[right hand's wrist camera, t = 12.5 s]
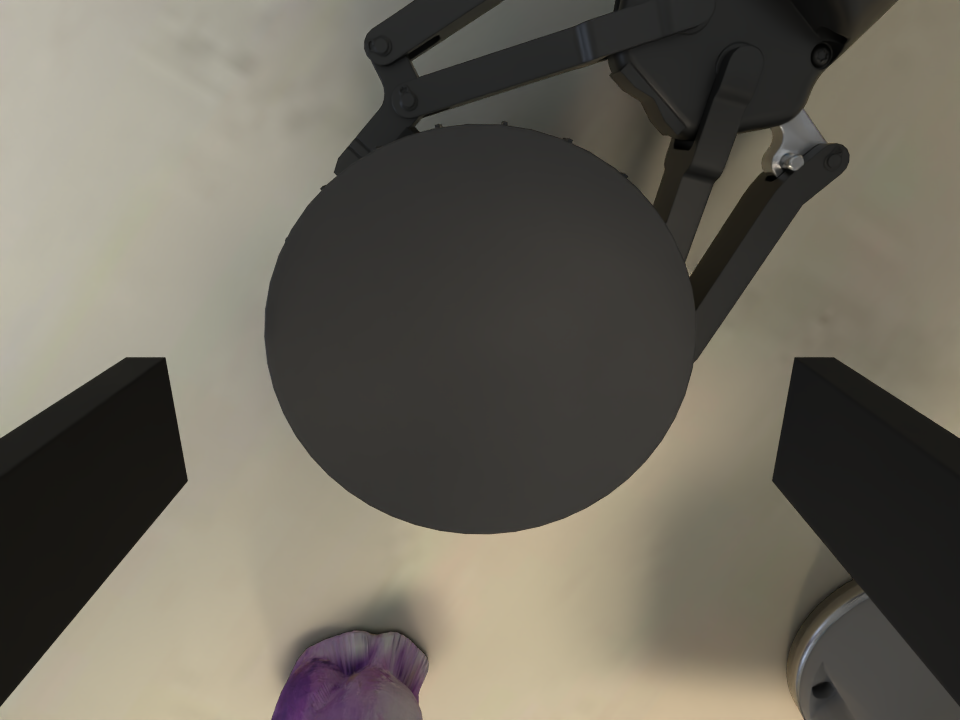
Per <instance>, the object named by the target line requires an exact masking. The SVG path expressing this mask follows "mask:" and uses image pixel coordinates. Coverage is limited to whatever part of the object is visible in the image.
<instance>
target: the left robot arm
mask: <svg viewBox="0 0 960 720" xmlns="http://www.w3.org/2000/svg"><path fill="white" fill-rule="evenodd" d="M503 1H504V0H414V1H413V2H411V3H410V4H408V5H407V6H405V7H404V8H402V9H401V10H399V11H398V12H397V13H395V14H394V15H392V16H391V17H389V18H388V19H386V20H385V21H383V22H382V23H380V24H379V25H377V26H376V27H374V28H373V29H371V31H370V32H369V33H368V34H367V35H366V38H365V41H364V49H365V52H366V55H367V56H368V58H369V59H370V60H371V62H372V64H373V66H374V68H375V70H376V72H377V74H378V76H379V78H380V80H381V82H382V84H383V87H384V93H385V94H384V101H383V104H382V106H381V107H380V109H379V110H378V112H377V113H376V114H375V115H374V116H373V117H372V119H371V120H370V121H369V122H368V123H367V125H366V126H365V127H364V128H363V129H362V131H361V132H360V133H359V134H358V135H357V137H356V138H355V139H354V140H353V141H352V143H351V144H350V145H349V146H348V147H347V148H346V150H345V151H344V152H343V153H342V154H341V156H340V157H339V158H338V161H337V164H336V167H335V170H334V173H335V174H336V175H337V176H338V175H339V174H340V173H341V172H343V171H344V170H345V169H346V168H347V167H349V166H350V165H351V164H353V163H354V162H356V161H358V160H359V159H361V158H363V157H364V156H366V155H368V154H369V153H371V152H373V150H372V148H373V147H375V146H381V145H382V146H384V145H387V144H389V143H391V142H394V141H396V140H399V139H401V138H403V137H406V136H409V135H412V134H416V133H420V132H419V131H418V130H417V129H416V128H415V125H416V124H417V123H418V122H419V121H420V120H421V118H424V117H427V116H430V115H434V114H437V113H440V112H443V111H446V110H449V109H452V108H455V107H459V106H462V105H465V104H468V103H471V102H474V101H477V100H481V99H484V98H487V97H490V96H493V95H496V94H499V93H502V92H506V91H509V90H512V89H515V88H518V87H521V86H524V85H527V84H531V83H534V82H537V81H540V80H543V79H546V78H549V77H552V76H556V75H559V74H562V73H565V72H568V71H571V70H575V69H579V68H582V67H586V66H589V65H592V64H595V63H598V62H601V61H604V60H607V59H608V64H609V67H610V70H611V72H612V73H611V74H610V75H609V76H610V77H611V78H612V79H613V80H614V81H615V82H616V83H617V85H618V86H619V87H620V88H621V89H622V90H623V91H624V92H626V93H628V94H629V95H631V96H633V97H634V98H636V99H637V100H639V101H640V102H641V103H642V105H643V108H644V110H645V112H646V114H647V116H648V118H649V120H650V122H651V123H652V124H653V125H654V126H655V127H656V128H657V129H658V131H659V132H660V133H661V134H662V135H668V136H670V137H672V139H671V142H670V145H669V148H668V151H667V154H666V158H665V163H664V168H665V170H664V174H663V177H662V180H661V183H660V186H659V189H658V192H657V195H656V198H655V201H654V204H653V207H654V208H655V209H656V210H657V211H658V213H659V214H660V216H661V218H662V219H663V221H664V222H666V223H667V225H668V229H669V230H670V232H671V233H672V235H673V237H674V239H675V241H676V244H677V246H678V248H679V250H680V252H681V255H682V257H683V259H684V261H686V258H687V256H688V253H689V250H690V247H691V244H692V242H693V239H694V236H695V233H696V231H697V228H698V225H699V222H700V220H701V217H702V214H703V211H704V208H705V206H706V203H707V200H708V197H709V195H710V192H711V189H712V187H713V184H714V183H715V181H716V180H717V179H718V178H719V177H720V176H721V174H722V172H723V170H724V168H725V165H726V162H727V160H728V157H729V154H730V151H731V149H732V146H733V143H734V140H735V138H736V135H737V134H740V133H745V132H751V131H756V130H761V129H766V128H770V129H771V131H772V136H773V137H772V143H771V145H770V147H769V148H768V150H767V151H766V152H765V154H764V155H763V158H762V163H761V164H762V169H763V172H762V173H761V174H760V175H759V176H758V177H757V178H756V179H755V180H754V181H753V183H752V184H751V185H750V186H749V187H748V189H747V190H746V192H745V193H744V194H743V196H742V197H741V199H740V200H739V202H738V204H737V205H736V207H735V208H734V210H733V211H732V213H731V214H730V216H729V217H728V219H727V220H726V222H725V224H724V225H723V227H722V228H721V230H720V231H719V233H718V234H717V236H716V237H715V239H714V241H713V242H712V244H711V245H710V247H709V248H708V250H707V251H706V253H705V254H704V256H703V258H702V259H701V261H700V262H699V264H698V265H697V267H696V268H695V270H694V271H693V273H692V275H691V276H690V278H689V279H690V282H691V286H692V290H693V297H694V304H695V311H696V347H695V354H694V361H693V363H694V362H695V361H696V360H697V359H698V357H699V356H700V354H701V353H702V351H703V350H704V348H705V347H706V346H707V344H708V343H709V341H710V340H711V338H712V337H713V335H714V334H715V332H716V331H717V329H718V328H719V327H720V325H721V324H722V322H723V321H724V319H725V318H726V316H727V315H728V313H729V312H730V310H731V309H732V307H733V306H734V305H735V303H736V302H737V300H738V299H739V297H740V296H741V294H742V293H743V291H744V290H745V288H746V287H747V285H748V284H749V283H750V281H751V280H752V278H753V277H754V275H755V274H756V272H757V271H758V269H759V268H760V266H761V265H762V264H763V262H764V261H765V259H766V258H767V256H768V255H769V253H770V252H771V250H772V249H773V247H774V246H775V244H776V243H777V242H778V240H779V239H780V237H781V236H782V234H783V233H784V231H785V230H786V228H787V227H788V225H789V224H790V222H791V221H792V220H793V218H794V217H795V215H796V214H797V212H798V211H799V209H800V208H801V206H802V205H803V204H804V203H806V202H807V201H808V200H809V199H811V198H812V197H813V196H814V195H816V194H817V193H818V192H819V191H820V190H822V189H823V188H824V187H825V186H827V185H828V184H829V183H830V182H832V181H833V180H834V179H835V178H837V177H838V176H839V175H840V174H842V172H843V171H844V170H845V169H846V168H847V166H848V163H849V152H848V150H847V148H846V147H844V146H843V145H841V144H837V143H827V142H826V141H825V139H824V138H823V136H822V135H821V133H820V132H819V131H818V129H817V128H816V126H815V125H814V123H813V122H812V120H811V119H810V117H809V116H808V114H807V113H806V112H805V110H804V109H803V108H804V106H805V104H806V103H807V100H808V98H809V95H810V92H811V90H812V88H813V86H814V84H815V83H816V81H817V79H818V78H819V76H820V75H821V74H822V73H823V71H824V70H825V69H826V68H827V67H829V66H830V65H831V64H832V63H833V62H834V61H835V60H836V59H837V58H839V57H840V56H841V55H842V54H843V53H844V52H845V51H846V50H847V49H848V48H849V47H850V46H851V45H852V44H853V43H854V42H855V41H856V40H858V39H859V38H860V37H861V36H862V35H863V34H864V33H865V32H866V31H867V30H868V29H869V28H870V27H871V26H872V25H873V24H874V23H875V22H876V21H877V20H878V19H879V18H880V17H881V16H882V15H883V14H885V13H886V12H887V11H888V10H889V9H890V8H891V7H892V6H893V5H894V4H895V3H896V2H897V1H898V0H616V1H615V6H614V12H612V13H609V14H606V15H603V16H600V17H597V18H594V19H591V20H588V21H585V22H583V23H581V24H579V25H576V26H574V27H571V28H568V29H565V30H562V31H559V32H556V33H553V34H550V35H547V36H544V37H540V38H537V39H534V40H531V41H528V42H525V43H522V44H519V45H516V46H513V47H510V48H507V49H504V50H501V51H498V52H494V53H491V54H488V55H485V56H482V57H479V58H476V59H473V60H470V61H467V62H464V63H461V64H458V65H455V66H452V67H449V68H445V69H442V70H439V71H436V72H433V73H430V74H427V75H424V76H421V77H419V76H418V74H417V72H416V70H415V68H414V66H413V63H412V61H413V60H414V59H416V58H417V57H419V56H420V55H422V54H423V53H425V52H426V51H428V50H429V49H431V48H432V47H434V46H435V45H437V44H439V43H440V42H442V41H443V40H445V39H446V38H448V37H449V36H451V35H452V34H454V33H455V32H457V31H458V30H460V29H461V28H463V27H464V26H466V25H468V24H469V23H471V22H472V21H474V20H475V19H477V18H478V17H480V16H481V15H483V14H484V13H486V12H487V11H489V10H490V9H492V8H493V7H495V6H497V5H498V4H500V3H501V2H503ZM787 681H788V687H789V690H790V693H791V696H792V698H793V700H794V702H795V704H796V706H797V707H798V709H799V711H800V713H801V715H802V717H803V718H804V720H960V707H959V705H958V704H957V703H956V702H955V701H954V699H953V698H952V697H951V696H950V694H949V693H948V692H947V691H946V690H945V688H944V687H943V686H942V685H941V684H940V682H939V681H938V680H937V679H936V678H935V676H934V675H933V674H932V673H931V672H930V670H929V669H928V668H927V667H926V666H925V664H924V663H923V662H922V661H921V660H920V658H919V657H918V656H917V655H916V654H915V652H914V651H913V650H912V649H911V648H910V646H909V645H908V644H907V643H906V642H905V640H904V639H903V638H902V637H901V635H900V634H899V633H898V632H897V631H896V629H895V628H894V627H893V626H892V625H891V623H890V622H889V621H888V620H887V619H886V617H885V616H884V615H883V614H882V613H881V611H880V610H879V609H878V608H877V607H876V605H875V604H874V603H873V602H872V601H871V599H870V598H869V597H868V596H867V595H866V593H865V592H864V591H863V590H862V589H861V587H860V586H859V585H858V584H857V583H856V581H855V580H854V579H853V580H852V581H850V582H848V583H846V584H845V585H843V586H842V587H840V588H839V589H837V590H836V591H835V592H833V593H832V594H831V595H829V596H828V597H827V598H826V599H825V600H824V601H822V602H821V603H820V604H819V605H818V606H817V607H816V608H815V609H814V610H813V611H812V613H811V614H810V615H809V616H808V617H807V619H806V620H805V621H804V623H803V624H802V626H801V627H800V629H799V631H798V632H797V634H796V636H795V638H794V640H793V643H792V646H791V648H790V652H789V656H788V661H787Z"/></svg>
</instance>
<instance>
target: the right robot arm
mask: <svg viewBox="0 0 960 720" xmlns="http://www.w3.org/2000/svg"><path fill="white" fill-rule="evenodd" d="M187 481H188V479H187V473H186V468H185V462H184V457H183V451H182V446H181V440H180V435H179V429H178V424H177V418H176V413H175V408H174V402H173V397H172V391H171V386H170V380H169V375H168V369H167V364H166V358H165V357H126V358H124V359H123V360H121V361H120V362H118V363H117V364H115V365H114V366H112V367H110V368H109V369H107V370H106V371H104V372H103V373H101V374H100V375H98V376H96V377H95V378H93V379H92V380H90V381H89V382H87V383H86V384H84V385H82V386H81V387H79V388H78V389H76V390H75V391H73V392H72V393H70V394H69V395H67V396H65V397H64V398H62V399H61V400H59V401H58V402H56V403H55V404H53V405H51V406H50V407H48V408H47V409H45V410H44V411H42V412H41V413H39V414H38V415H36V416H34V417H33V418H31V419H30V420H28V421H27V422H25V423H24V424H22V425H20V426H19V427H17V428H16V429H14V430H13V431H11V432H10V433H8V434H6V435H5V436H3V437H2V438H0V707H1V705H2V704H3V703H4V702H5V700H6V699H7V698H8V697H9V696H10V694H11V693H12V692H13V691H14V690H15V688H16V687H17V686H18V685H19V684H20V682H21V681H22V680H23V679H24V678H25V676H26V675H27V674H28V673H29V672H30V670H31V669H32V668H33V667H34V666H35V664H36V663H37V662H38V661H39V660H40V658H41V657H42V656H43V655H44V654H45V652H46V651H47V650H48V649H49V648H50V646H51V645H52V644H53V643H54V642H55V640H56V639H57V638H58V637H59V635H60V634H61V633H62V632H63V631H64V629H65V628H66V627H67V626H68V625H69V623H70V622H71V621H72V620H73V619H74V617H75V616H76V615H77V614H78V613H79V611H80V610H81V609H82V608H83V607H84V605H85V604H86V603H87V602H88V601H89V599H90V598H91V597H92V596H93V595H94V593H95V592H96V591H97V590H98V589H99V587H100V586H101V585H102V584H103V583H104V581H105V580H106V579H107V578H108V576H109V575H110V574H111V573H112V572H113V570H114V569H115V568H116V567H117V566H118V564H119V563H120V562H121V561H122V560H123V558H124V557H125V556H126V555H127V554H128V552H129V551H130V550H131V549H132V548H133V546H134V545H135V544H136V543H137V542H138V540H139V539H140V538H141V537H142V536H143V534H144V533H145V532H146V531H147V530H148V528H149V527H150V526H151V525H152V524H153V522H154V521H155V520H156V519H157V518H158V516H159V515H160V514H161V513H162V511H163V510H164V509H165V508H166V507H167V505H168V504H169V503H170V502H171V501H172V499H173V498H174V497H175V496H176V495H177V493H178V492H179V491H180V490H181V489H182V487H183V486H184V485H185V484H186V483H187ZM772 481H773V483H774V484H775V485H776V486H777V487H778V489H779V490H780V491H781V492H782V493H783V495H784V496H785V497H786V498H787V499H788V501H789V502H790V503H791V504H792V505H793V507H794V508H795V509H796V510H797V511H798V513H799V514H800V515H801V516H802V518H803V519H804V520H805V521H806V522H807V524H808V525H809V526H810V527H811V528H812V530H813V531H814V532H815V533H816V534H817V536H818V537H819V538H820V539H821V540H822V542H823V543H824V544H825V545H826V546H827V548H828V549H829V550H830V551H831V552H832V554H833V555H834V556H835V557H836V558H837V560H838V561H839V562H840V563H841V564H842V566H843V567H844V568H845V569H846V570H847V572H848V573H849V574H850V575H851V576H852V578H853V579H854V580H855V581H856V583H857V584H858V585H859V586H860V587H861V589H862V590H863V591H864V592H865V593H866V595H867V596H868V597H869V598H870V599H871V601H872V602H873V603H874V604H875V605H876V607H877V608H878V609H879V610H880V611H881V613H882V614H883V615H884V616H885V617H886V619H887V620H888V621H889V622H890V623H891V625H892V626H893V627H894V628H895V629H896V631H897V632H898V633H899V634H900V635H901V637H902V638H903V639H904V640H905V642H906V643H907V644H908V645H909V646H910V648H911V649H912V650H913V651H914V652H915V654H916V655H917V656H918V657H919V658H920V660H921V661H922V662H923V663H924V664H925V666H926V667H927V668H928V669H929V670H930V672H931V673H932V674H933V675H934V676H935V678H936V679H937V680H938V681H939V682H940V684H941V685H942V686H943V687H944V688H945V690H946V691H947V692H948V693H949V694H950V696H951V697H952V698H953V699H954V701H955V702H956V703H957V704H958V705H959V707H960V438H958V437H957V436H955V435H954V434H952V433H950V432H949V431H947V430H946V429H944V428H943V427H941V426H940V425H938V424H936V423H935V422H933V421H932V420H930V419H929V418H927V417H926V416H924V415H922V414H921V413H919V412H918V411H916V410H915V409H913V408H912V407H910V406H909V405H907V404H905V403H904V402H902V401H901V400H899V399H898V398H896V397H895V396H893V395H891V394H890V393H888V392H887V391H885V390H884V389H882V388H881V387H879V386H878V385H876V384H874V383H873V382H871V381H870V380H868V379H867V378H865V377H864V376H862V375H860V374H859V373H857V372H856V371H854V370H853V369H851V368H850V367H848V366H846V365H845V364H843V363H842V362H840V361H839V360H837V359H836V358H834V357H795V358H794V364H793V369H792V375H791V380H790V386H789V391H788V397H787V402H786V407H785V413H784V418H783V424H782V429H781V435H780V440H779V446H778V451H777V457H776V462H775V468H774V473H773V479H772Z"/></svg>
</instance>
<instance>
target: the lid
mask: <svg viewBox="0 0 960 720" xmlns="http://www.w3.org/2000/svg"><path fill="white" fill-rule="evenodd" d="M507 124H508V122H505V121H503V122H502V124H501V125H497V124H464V125H456V126H448V127H442V124H437V125H435V129H431V130H427V131H424V132H420V133H416V134H412V135H409V136H406V137H403V138H401V139H399V140H396V141H394V142H391V143H389V144H387V145H384V146H382V145H381V146H375V147H373V148H372V150H373V152H371V153H369V154H368V155H366V156H364V157H363V158H361V159H359V160H358V161H356V162H354V163H353V164H351V165H350V166H349V167H347V168H346V169H345V170H344V171H343V172H341V173H340V174H339V175H338V176H337V177H335V178H334V179H333V180H332V181H330V182H329V183H328V184H327V185H324V186H322V187H321V188H320V189H321V190H322V191H321V192H320V193H319V194H318V195H317V196H316V197H315V198H314V199H313V200H312V201H311V203H310V204H309V205H308V206H307V207H306V209H305V210H304V212H303V213H302V215H301V216H300V218H299V219H298V221H297V222H296V224H295V225H294V226H293V228H292V229H291V231H290V233H289V235H288V237H287V238H286V240H285V244H284V246H283V248H282V250H281V252H280V254H279V256H278V259H277V262H276V265H275V268H274V271H273V274H272V278H271V281H270V285H269V291H268V297H267V302H266V308H265V335H264V337H265V346H266V356H267V364H268V368H269V372H270V376H271V380H272V384H273V388H274V391H275V393H276V396H277V398H278V401H279V404H280V406H281V409H282V411H283V414H284V415H285V417H286V419H287V421H288V423H289V424H290V426H291V428H292V430H293V432H294V433H295V435H296V437H297V438H298V439H299V441H300V442H301V444H302V445H303V446H304V448H305V449H306V450H307V452H308V453H309V455H310V456H311V457H312V458H313V459H314V460H315V461H316V462H317V463H318V465H319V466H320V467H321V468H322V469H323V470H324V471H325V472H326V473H327V474H328V475H329V476H330V477H331V478H333V479H334V480H335V481H336V482H337V483H339V484H340V485H341V486H342V487H343V488H345V489H346V490H347V491H348V492H350V493H351V494H353V495H354V496H356V497H357V498H359V499H361V500H362V501H364V502H365V503H367V504H368V505H370V506H372V507H374V508H376V509H378V510H380V511H382V512H384V513H386V514H388V515H390V516H392V517H395V518H398V519H401V520H403V521H406V522H409V523H412V524H414V525H418V526H422V527H426V528H431V529H435V530H439V531H446V532H454V533H462V534H497V533H507V532H516V531H521V530H526V529H530V528H535V527H540V526H543V525H546V524H549V523H552V522H555V521H558V520H561V519H564V518H566V517H568V516H570V515H572V514H575V513H577V512H579V511H581V510H583V509H585V508H587V507H589V506H590V505H592V504H594V503H595V502H597V501H599V500H600V499H602V498H604V497H605V496H607V495H608V494H610V493H611V492H612V491H613V490H615V489H616V488H617V487H619V486H620V485H621V484H622V483H624V482H625V481H626V480H627V479H629V478H630V477H631V476H632V475H633V474H634V473H635V472H636V471H637V470H638V469H639V468H640V467H641V466H642V465H643V464H644V463H645V462H646V460H647V459H648V458H649V457H650V455H651V454H652V453H653V451H654V450H655V449H656V448H657V446H658V445H659V444H660V442H661V441H662V439H663V438H664V436H665V434H666V433H667V431H668V429H669V428H670V426H671V424H672V423H673V421H674V419H675V417H676V415H677V413H678V410H679V408H680V406H681V403H682V401H683V399H684V396H685V394H686V390H687V386H688V383H689V379H690V376H691V372H692V368H693V361H694V354H695V347H696V311H695V304H694V297H693V290H692V286H691V282H690V279H689V275H688V272H687V268H686V265H685V261H684V259H683V257H682V255H681V252H680V250H679V248H678V246H677V244H676V241H675V239H674V237H673V235H672V233H671V232H670V230H669V229H668V225H667V223H666V222H664V221H663V219H662V218H661V216H660V214H659V213H658V211H657V210H656V209H655V208H654V207H653V205H652V204H651V203H650V202H649V201H648V200H647V198H646V197H645V196H644V195H643V194H642V193H641V191H640V190H639V189H638V188H637V187H636V186H635V185H634V184H632V183H631V182H630V181H629V180H628V179H627V177H628V176H627V175H626V174H624V173H621V172H619V171H618V170H616V169H615V168H614V167H612V166H611V165H609V164H608V163H606V162H605V161H603V160H601V159H600V158H598V157H597V156H595V155H594V154H592V153H591V152H589V151H587V150H585V149H583V148H580V147H578V146H576V145H574V144H572V141H573V140H571V139H569V138H563V139H561V138H558V137H554V136H551V135H548V134H545V133H541V132H538V131H535V130H531V129H525V128H519V127H512V126H507Z"/></svg>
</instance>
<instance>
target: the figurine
mask: <svg viewBox="0 0 960 720" xmlns="http://www.w3.org/2000/svg"><path fill="white" fill-rule="evenodd" d="M428 663H429V661H428V660H427V656H425V654H424V653H422V651H420V650H419V648H417V646H415V645H414V643H412V641H411V640H409V638H407V637H405V636H404V635H401V634H399V633H397V632H388V633H381V634H370V633H368V632H366V631H352V632H346V633H342V634H341V635H336V636H334V637H331V638H328V639H325V640H322V641H321V642H319V643H316V644H315V645H312V646H310V647H308V648H307V649H306V650H305V651H304V652H303V654H302V655H301V656H300V657H299V659H298V660H297V662H296V664H295V666H294V668H293V670H292V672H291V674H290V677H289V679H288V681H287V682H286V684H285V686H284V688H283V690H282V692H281V694H280V697H279V699H278V702H277V704H276V707H275V710H274V713H273V716H272V719H271V720H423V719H422V713H421V710H420V707H419V697H418V694H419V691H420V688H421V686H422V683H423V681H424V679H425V677H426V674H427V672H428Z"/></svg>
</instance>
